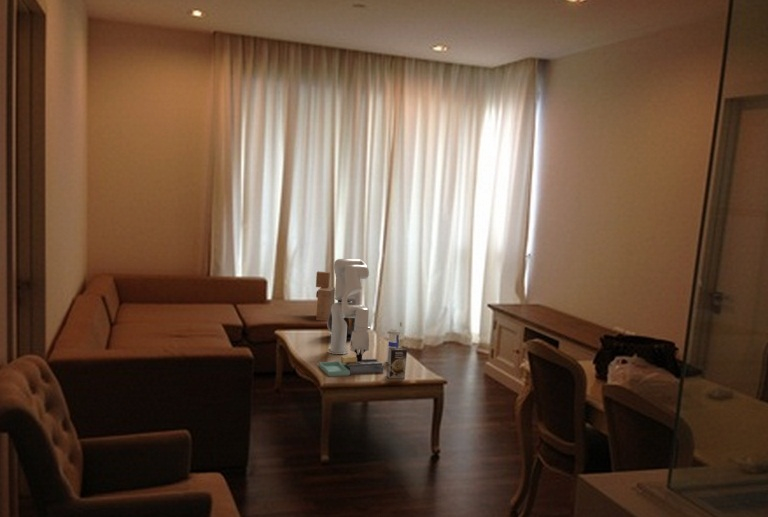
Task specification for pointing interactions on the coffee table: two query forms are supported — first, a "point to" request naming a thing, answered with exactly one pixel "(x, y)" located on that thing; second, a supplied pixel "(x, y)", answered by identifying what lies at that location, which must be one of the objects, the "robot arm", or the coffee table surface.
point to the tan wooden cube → (345, 360)
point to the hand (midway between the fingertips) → (358, 360)
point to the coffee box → (396, 362)
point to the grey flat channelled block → (365, 366)
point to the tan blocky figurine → (324, 296)
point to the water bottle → (393, 340)
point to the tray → (334, 369)
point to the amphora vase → (349, 321)
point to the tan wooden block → (353, 359)
